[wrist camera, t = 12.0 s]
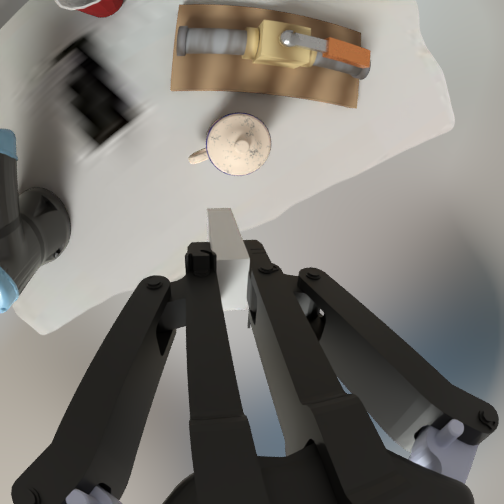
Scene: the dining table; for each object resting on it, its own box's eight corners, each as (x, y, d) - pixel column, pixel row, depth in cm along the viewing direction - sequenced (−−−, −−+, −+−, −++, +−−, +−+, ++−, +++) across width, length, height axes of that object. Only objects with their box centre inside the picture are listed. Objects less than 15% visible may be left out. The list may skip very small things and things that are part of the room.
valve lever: (277, 47, 30) (281, 44, 28) (279, 30, 28) (283, 26, 26) (362, 68, 32) (369, 67, 31) (363, 52, 31) (370, 50, 29)
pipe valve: (171, 91, 37) (165, 84, 29) (179, 8, 30) (176, -13, 22) (351, 107, 43) (378, 109, 36) (355, 34, 36) (382, 25, 28)
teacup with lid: (248, 106, 41) (264, 103, 31) (265, 154, 45) (285, 167, 35) (180, 131, 41) (174, 136, 31) (200, 179, 45) (201, 199, 35)
